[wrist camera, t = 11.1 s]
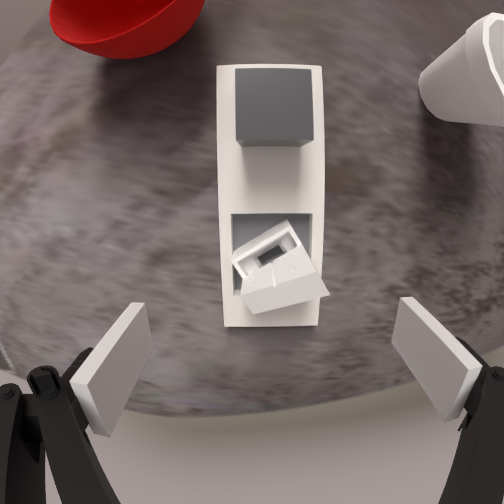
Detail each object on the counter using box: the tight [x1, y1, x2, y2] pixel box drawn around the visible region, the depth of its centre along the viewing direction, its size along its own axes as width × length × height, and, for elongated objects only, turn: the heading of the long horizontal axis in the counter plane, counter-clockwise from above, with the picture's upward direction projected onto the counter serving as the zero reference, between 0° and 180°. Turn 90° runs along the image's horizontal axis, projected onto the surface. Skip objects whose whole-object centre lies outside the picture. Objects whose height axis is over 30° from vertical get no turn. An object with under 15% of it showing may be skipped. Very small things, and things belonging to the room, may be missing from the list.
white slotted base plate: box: [217, 64, 325, 327], centre depth 23 cm, size 9×24×8 cm, turn 1°
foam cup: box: [418, 13, 504, 127], centre depth 17 cm, size 10×9×13 cm
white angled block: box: [231, 219, 330, 314], centre depth 25 cm, size 4×10×9 cm, turn 122°
